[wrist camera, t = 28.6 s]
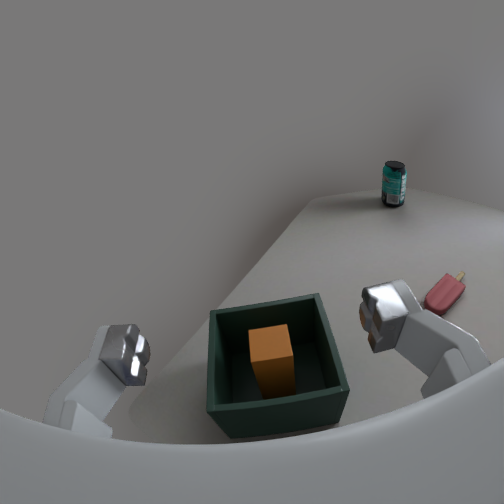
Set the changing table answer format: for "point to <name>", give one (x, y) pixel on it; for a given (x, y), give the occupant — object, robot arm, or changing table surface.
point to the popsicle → (444, 294)
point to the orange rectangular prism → (272, 361)
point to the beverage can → (393, 183)
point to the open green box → (305, 369)
